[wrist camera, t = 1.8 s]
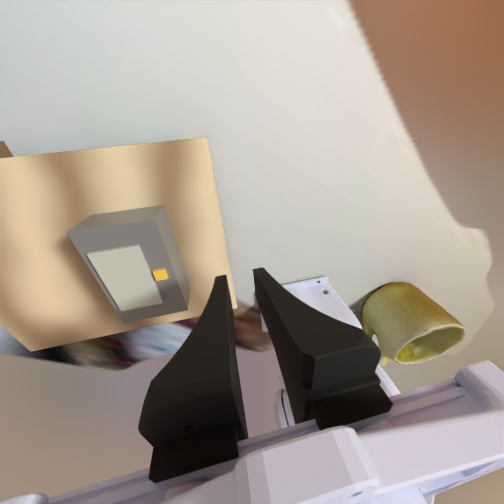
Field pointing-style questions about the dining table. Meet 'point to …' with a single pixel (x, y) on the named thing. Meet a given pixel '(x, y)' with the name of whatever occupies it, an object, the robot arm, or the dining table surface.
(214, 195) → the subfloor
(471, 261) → the dining table surface
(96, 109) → the dining table surface
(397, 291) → the mug
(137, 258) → the block
